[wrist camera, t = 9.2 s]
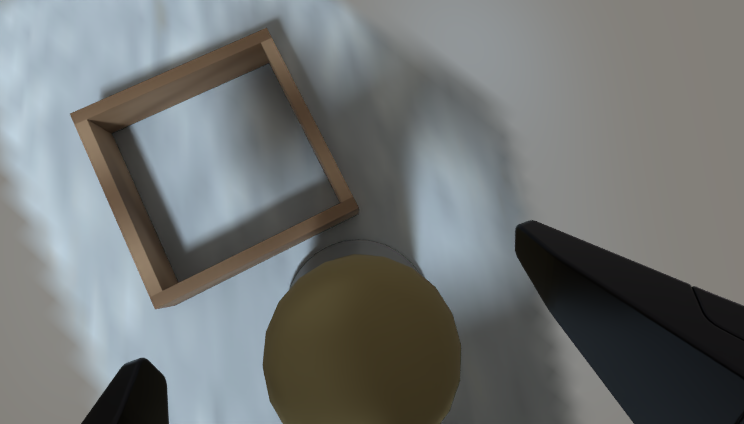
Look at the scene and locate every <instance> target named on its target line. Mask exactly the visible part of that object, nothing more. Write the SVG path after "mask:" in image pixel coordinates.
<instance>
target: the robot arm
mask: <svg viewBox="0 0 744 424" xmlns="http://www.w3.org/2000/svg"><path fill="white" fill-rule="evenodd" d="M515 252H516V255H517V258H518V259H519V261H520V263H521V265H522V266H523V268H524V270H525V271H526V273H527V275H528V276H529V278H530V280H531V281H532V283H533V285H534V287H535V288H536V290H537V292H538V293H539V295H540V297H541V298H542V300H543V302H544V303H545V305H546V306H547V308H548V310H549V311H550V312H551V314H552V315H553V317H554V318H555V319H556V321H557V322H558V323H559V325H560V326H561V327H562V329H563V330H564V331H565V333H566V334H567V335H568V337H569V338H570V339H571V341H572V342H573V343H574V345H575V346H576V347H577V349H578V350H579V351H580V353H581V354H582V355H583V357H584V358H585V359H586V360H587V362H588V363H589V364H590V366H591V367H592V368H593V370H594V371H595V372H596V374H597V375H598V376H599V378H600V379H601V380H602V382H603V383H604V384H605V386H606V387H607V388H608V390H609V391H610V392H611V394H612V395H613V396H614V398H615V399H616V400H617V402H618V403H619V404H620V406H621V407H622V408H623V410H624V411H625V412H626V414H627V415H628V416H629V417H630V419H631V420H632V421H633V423H634V424H744V306H743V305H741V304H738V303H736V302H733V301H730V300H728V299H725V298H723V297H720V296H718V295H715V294H712V293H710V292H708V291H705V290H703V289H700V288H698V287H695V286H693V287H691V285H690V284H688V283H685V282H683V281H680V280H678V279H676V278H673V277H671V276H668V275H666V274H663V273H661V272H659V271H656V270H654V269H651V268H649V267H646V266H644V265H642V264H639V263H637V262H634V261H631V260H629V259H627V258H625V257H622V256H620V255H617V254H615V253H612V252H610V251H608V250H605V249H603V248H600V247H598V246H595V245H593V244H590V243H588V242H586V241H583V240H580V239H578V238H576V237H573V236H571V235H568V234H566V233H564V232H561V231H559V230H556V229H554V228H552V227H549V226H547V225H544V224H542V223H539V222H537V221H533V220H531V221H527V222H524V223H522V224H519V225H517V227H516V229H515ZM81 424H169V416H168V396H167V383H166V379H165V377H164V376H163V374H162V373H161V372H160V371H159V370H158V369H157V368H156V367H155V366H154V365H153V364H152V363H151V362H150V361H149V360H147V359H146V358H139V359H136V360H133V361H131V362H128V363H126V364H124V365H123V366H122V367H121V369H120V370H119V371H118V373H117V374H116V376H115V377H114V378H113V380H112V381H111V383H110V384H109V385H108V387H107V388H106V390H105V391H104V392H103V394H102V395H101V397H100V398H99V399H98V401H97V402H96V404H95V405H94V406H93V408H92V409H91V411H90V412H89V413H88V415H87V416H86V418H85V419H84V421H83V422H82V423H81Z"/></svg>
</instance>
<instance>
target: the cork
mask: <svg viewBox="0 0 744 424" xmlns="http://www.w3.org/2000/svg"><path fill="white" fill-rule="evenodd" d="M460 365H461V343H460V340H459V336H458V332H457V329H456V325H455V321H454V318H453V314H452V312H451V311H450V309H449V307H448V306H447V304H446V303H445V301H444V300H443V298H442V297H441V295H440V293H439V292H438V290H437V289H436V287H435V286H433V285H432V284H431V283H430V282H429V281H427V280H426V279H425V278H424V277H423V276H421V275H420V274H419V273H418V272H417V271H415V270H414V269H413V268H411V267H409V266H406V265H404V264H401V263H399V262H396V261H394V260H392V259H389V258H387V257H383V256H373V255H361V254H352V255H348V256H344V257H340V258H336V259H334V260H331V261H327V262H324V263H323V264H321V265H320V266H318V267H316V268H315V269H313V270H312V271H310V272H308V273H307V274H305V275H304V276H302V277H300V278H299V279H298V280H297V281H296V282H295V284H294V285H293V286H292V287H291V288H290V290H289V291H288V292H287V293H286V294H285V295H284V297H283V298H282V299H281V300H280V301H279V302H278V305H277V307H276V310H275V312H274V314H273V317H272V319H271V321H270V324H269V326H268V328H267V331H266V336H265V346H264V356H263V371H264V376H265V380H266V385H267V390H268V395H269V399H270V402H271V404H272V406H273V407H274V409H275V411H276V413H277V414H278V416H279V418H280V420H281V421H282V423H283V424H440V423H441V422H442V420H443V419H444V418H445V416H446V415H447V414H448V412H449V411H450V408H451V405H452V402H453V399H454V396H455V393H456V391H457V388H458V385H459V382H460Z"/></svg>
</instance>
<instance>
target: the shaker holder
mask: <svg viewBox="0 0 744 424" xmlns="http://www.w3.org/2000/svg"><path fill="white" fill-rule="evenodd" d="M268 63H269V64H270V66H271V68H272V70H273V72H274V73H275V75H276V77H277V79H278V81H279V83H280V85H281V87H282V89H283V91H284V93H285V95H286V97H287V99H288V101H289V103H290V105H291V107H292V109H293V111H294V113H295V115H296V117H297V119H298V121H299V123H300V125H301V127H302V129H303V131H304V133H305V135H306V137H307V139H308V141H309V142H310V144H311V146H312V148H313V150H314V152H315V154H316V156H317V158H318V160H319V162H320V164H321V166H322V168H323V170H324V172H325V174H326V176H327V178H328V180H329V182H330V184H331V186H332V188H333V190H334V192H335V194H336V196H337V198H338V200H339V202H340V203H339V204H337V205H335V206H333V207H331V208H329V209H327V210H325V211H323V212H321V213H319V214H317V215H315V216H313V217H311V218H309V219H307V220H305V221H303V222H301V223H299V224H297V225H295V226H293V227H291V228H289V229H287V230H285V231H283V232H281V233H279V234H277V235H275V236H273V237H271V238H268V239H266V240H264V241H262V242H260V243H258V244H256V245H254V246H252V247H250V248H248V249H246V250H244V251H242V252H240V253H238V254H236V255H234V256H232V257H230V258H228V259H226V260H224V261H222V262H220V263H218V264H216V265H214V266H212V267H210V268H208V269H206V270H204V271H202V272H200V273H198V274H196V275H194V276H192V277H190V278H188V279H186V280H184V281H182V282H179V283H178V281H177V279H176V276H175V274H174V272H173V270H172V267H171V265H170V263H169V261H168V258H167V256H166V254H165V252H164V249H163V247H162V245H161V243H160V240H159V238H158V236H157V234H156V232H155V229H154V227H153V225H152V223H151V220H150V218H149V216H148V214H147V211H146V209H145V207H144V205H143V202H142V200H141V198H140V196H139V193H138V191H137V189H136V187H135V184H134V182H133V180H132V178H131V176H130V173H129V171H128V169H127V167H126V164H125V162H124V160H123V158H122V155H121V153H120V151H119V149H118V146H117V144H116V142H115V140H114V137H113V135H112V133H114V132H116V131H118V130H120V129H123V128H125V127H127V126H129V125H132V124H134V123H136V122H138V121H141V120H143V119H145V118H147V117H149V116H152V115H154V114H156V113H158V112H161V111H163V110H165V109H167V108H170V107H172V106H174V105H176V104H179V103H181V102H183V101H185V100H188V99H190V98H192V97H194V96H196V95H199V94H201V93H203V92H205V91H208V90H210V89H212V88H214V87H217V86H219V85H221V84H223V83H226V82H228V81H230V80H232V79H235V78H237V77H239V76H241V75H243V74H246V73H248V72H250V71H252V70H255V69H257V68H259V67H261V66H264V65H266V64H268ZM70 115H71V118H72V120H73V122H74V124H75V127H76V129H77V131H78V134H79V136H80V138H81V141H82V143H83V145H84V147H85V150H86V152H87V154H88V157H89V159H90V161H91V163H92V166H93V168H94V170H95V173H96V175H97V177H98V180H99V182H100V184H101V186H102V189H103V191H104V193H105V196H106V198H107V200H108V202H109V205H110V207H111V209H112V212H113V214H114V216H115V219H116V221H117V223H118V225H119V228H120V230H121V232H122V235H123V237H124V239H125V241H126V244H127V246H128V248H129V251H130V253H131V255H132V258H133V260H134V262H135V264H136V267H137V269H138V271H139V274H140V276H141V278H142V280H143V283H144V285H145V287H146V290H147V292H148V294H149V297H150V299H151V301H152V303H153V306H154V308H155V309H160V308H165V307H170V306H175V305H177V304H179V303H181V302H183V301H185V300H187V299H189V298H191V297H193V296H195V295H197V294H199V293H201V292H203V291H205V290H207V289H209V288H211V287H213V286H215V285H217V284H219V283H221V282H223V281H225V280H227V279H229V278H231V277H233V276H235V275H237V274H239V273H241V272H243V271H245V270H247V269H249V268H251V267H253V266H255V265H257V264H259V263H261V262H263V261H265V260H267V259H269V258H271V257H273V256H275V255H277V254H279V253H281V252H283V251H285V250H287V249H289V248H291V247H293V246H295V245H297V244H299V243H301V242H303V241H305V240H307V239H309V238H311V237H313V236H315V235H317V234H319V233H321V232H323V231H325V230H327V229H329V228H331V227H333V226H335V225H337V224H339V223H341V222H343V221H345V220H347V219H349V218H351V217H353V216H355V215H357V214H359V207H358V205H357V203H356V201H355V199H354V197H353V195H352V193H351V191H350V189H349V188H348V186H347V184H346V182H345V180H344V178H343V176H342V174H341V172H340V170H339V168H338V166H337V164H336V162H335V160H334V158H333V156H332V154H331V152H330V150H329V148H328V147H327V145H326V143H325V141H324V139H323V137H322V135H321V133H320V131H319V129H318V127H317V125H316V123H315V121H314V119H313V117H312V115H311V113H310V111H309V109H308V107H307V106H306V104H305V102H304V100H303V98H302V96H301V94H300V92H299V90H298V88H297V86H296V84H295V82H294V80H293V78H292V76H291V74H290V72H289V70H288V68H287V66H286V65H285V63H284V61H283V59H282V57H281V55H280V53H279V51H278V49H277V47H276V45H275V43H274V41H273V39H272V37H271V35H270V33H269V31H268V29H267V28H265V29H263V30H260V31H258V32H256V33H253V34H251V35H249V36H247V37H244V38H242V39H240V40H237V41H235V42H233V43H231V44H228V45H226V46H224V47H221V48H219V49H217V50H215V51H212V52H210V53H208V54H205V55H203V56H201V57H199V58H196V59H194V60H192V61H189V62H187V63H185V64H183V65H180V66H178V67H176V68H173V69H171V70H169V71H167V72H164V73H162V74H160V75H157V76H155V77H153V78H151V79H148V80H146V81H144V82H141V83H139V84H137V85H134V86H132V87H130V88H128V89H125V90H123V91H121V92H118V93H116V94H114V95H112V96H109V97H107V98H105V99H102V100H100V101H98V102H96V103H93V104H91V105H89V106H86V107H84V108H82V109H80V110H77V111H75V112H73V113H70Z"/></svg>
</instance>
